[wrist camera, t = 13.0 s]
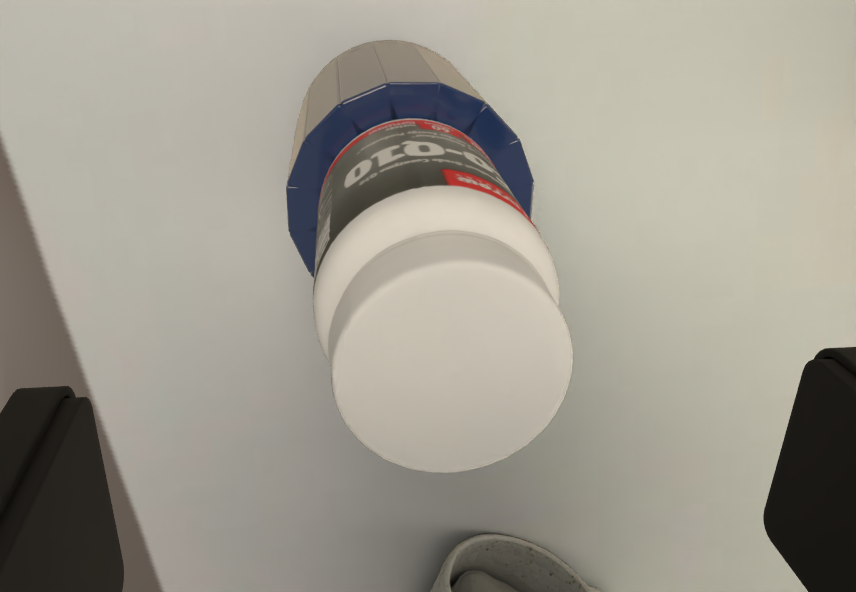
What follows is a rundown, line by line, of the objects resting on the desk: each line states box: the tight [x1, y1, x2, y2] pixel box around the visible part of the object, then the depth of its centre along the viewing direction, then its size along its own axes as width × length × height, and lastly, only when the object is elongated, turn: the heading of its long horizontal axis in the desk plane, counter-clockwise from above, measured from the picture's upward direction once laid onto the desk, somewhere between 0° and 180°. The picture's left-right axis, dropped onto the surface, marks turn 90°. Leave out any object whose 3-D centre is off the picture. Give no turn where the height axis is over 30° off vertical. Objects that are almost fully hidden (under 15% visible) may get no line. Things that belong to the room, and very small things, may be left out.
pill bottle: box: [313, 118, 573, 473], centre depth 16 cm, size 5×5×8 cm
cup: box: [286, 40, 534, 277], centre depth 24 cm, size 6×6×8 cm
